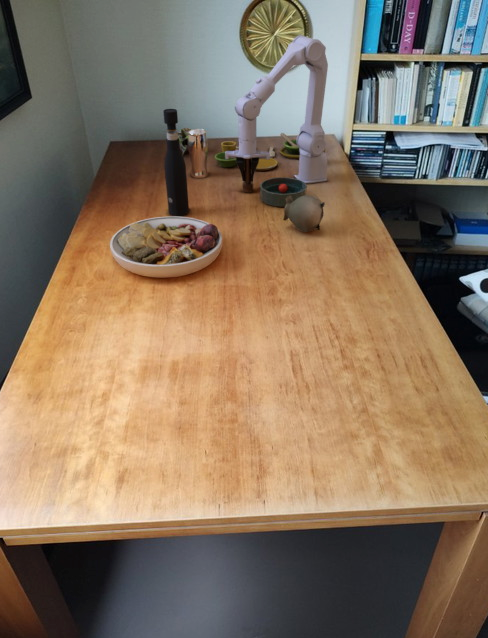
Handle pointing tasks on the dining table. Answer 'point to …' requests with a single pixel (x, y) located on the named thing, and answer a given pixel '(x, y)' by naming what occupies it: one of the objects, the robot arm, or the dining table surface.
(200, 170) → the metal tumbler
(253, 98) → the robot arm
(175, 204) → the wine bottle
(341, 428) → the dining table surface
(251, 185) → the muddler
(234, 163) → the tableware set
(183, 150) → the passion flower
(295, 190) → the bowl
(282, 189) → the tomato
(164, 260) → the bowl
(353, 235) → the dining table surface
